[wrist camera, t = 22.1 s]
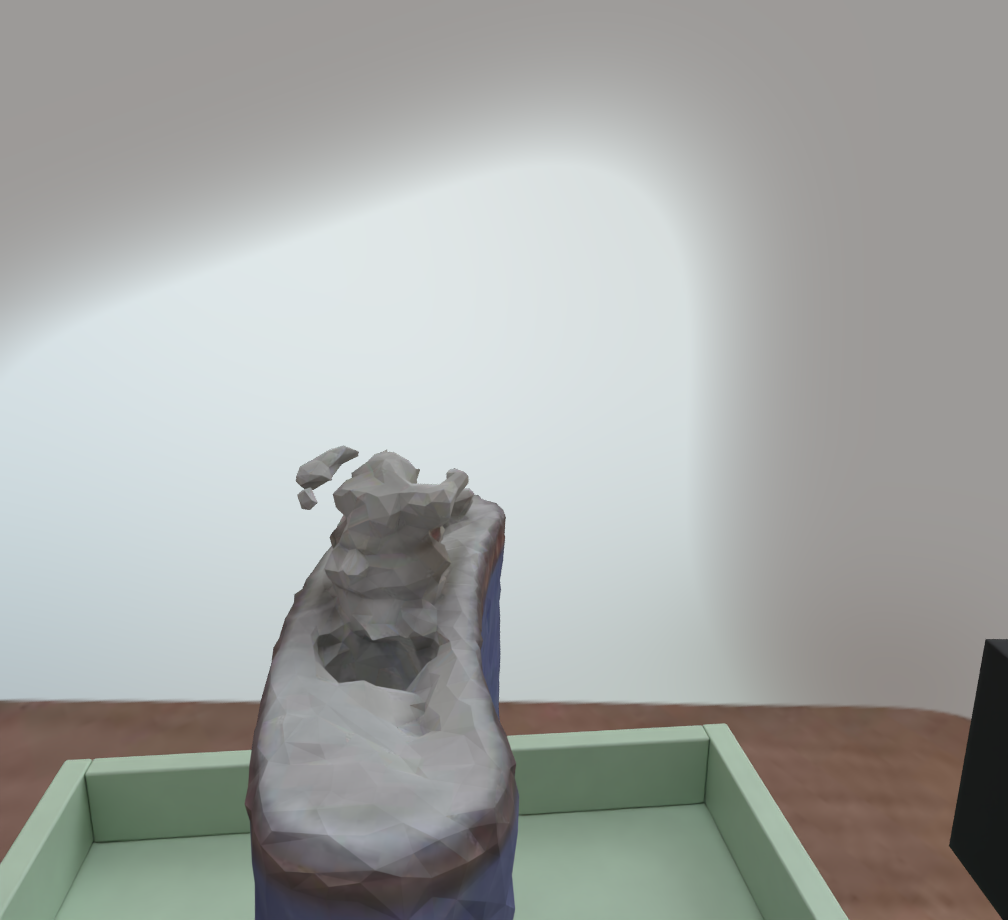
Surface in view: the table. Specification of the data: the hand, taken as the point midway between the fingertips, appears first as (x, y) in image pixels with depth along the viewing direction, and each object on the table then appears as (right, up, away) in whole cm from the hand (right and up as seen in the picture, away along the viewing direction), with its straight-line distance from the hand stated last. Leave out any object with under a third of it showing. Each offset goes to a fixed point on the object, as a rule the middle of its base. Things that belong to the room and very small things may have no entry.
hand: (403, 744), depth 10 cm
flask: (0, -7, +3) cm, 8 cm away
